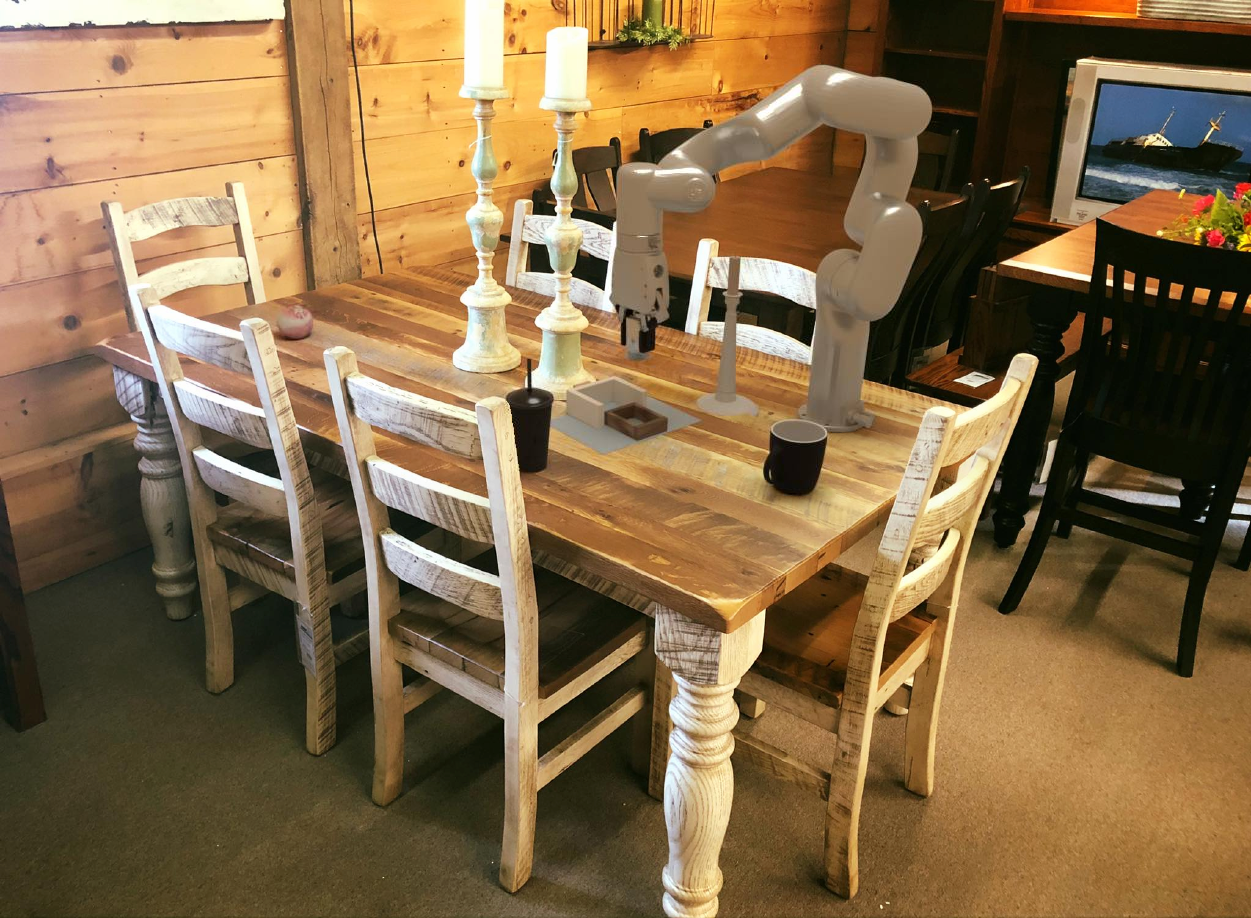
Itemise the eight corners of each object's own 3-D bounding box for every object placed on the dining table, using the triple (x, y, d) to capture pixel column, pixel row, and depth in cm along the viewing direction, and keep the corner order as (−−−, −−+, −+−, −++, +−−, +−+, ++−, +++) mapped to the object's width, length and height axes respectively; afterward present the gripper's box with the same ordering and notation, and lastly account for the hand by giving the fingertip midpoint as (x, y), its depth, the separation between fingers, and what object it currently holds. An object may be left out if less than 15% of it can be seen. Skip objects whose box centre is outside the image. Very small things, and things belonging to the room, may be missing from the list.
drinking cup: (498, 473, 173) (494, 358, 164) (534, 459, 178) (532, 347, 169) (528, 489, 168) (525, 371, 160) (564, 474, 173) (563, 360, 164)
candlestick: (739, 394, 206) (751, 243, 193) (770, 419, 195) (785, 261, 182) (679, 402, 202) (687, 248, 189) (708, 428, 191) (718, 266, 178)
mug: (790, 470, 177) (795, 414, 172) (832, 489, 171) (839, 432, 166) (741, 491, 169) (745, 433, 165) (784, 511, 163) (789, 452, 159)
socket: (667, 430, 186) (667, 417, 185) (637, 441, 182) (637, 427, 181) (634, 414, 192) (634, 402, 191) (604, 424, 188) (604, 411, 187)
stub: (654, 357, 181) (654, 318, 178) (636, 362, 178) (637, 322, 175) (638, 350, 183) (639, 312, 180) (621, 356, 181) (621, 317, 178)
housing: (646, 413, 193) (647, 390, 191) (598, 429, 186) (598, 405, 184) (604, 393, 201) (604, 371, 199) (556, 407, 194) (556, 385, 192)
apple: (309, 345, 228) (299, 319, 223) (276, 346, 230) (265, 319, 225) (322, 323, 234) (311, 296, 229) (289, 324, 235) (278, 297, 230)
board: (701, 428, 191) (701, 420, 191) (603, 462, 178) (603, 454, 177) (639, 399, 203) (639, 392, 202) (543, 429, 189) (543, 421, 188)
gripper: (691, 248, 169) (687, 356, 177) (623, 228, 180) (622, 330, 188) (656, 256, 164) (654, 366, 172) (589, 235, 176) (589, 339, 184)
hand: (637, 346), depth 180 cm, fingers closed on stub, 4 cm apart
